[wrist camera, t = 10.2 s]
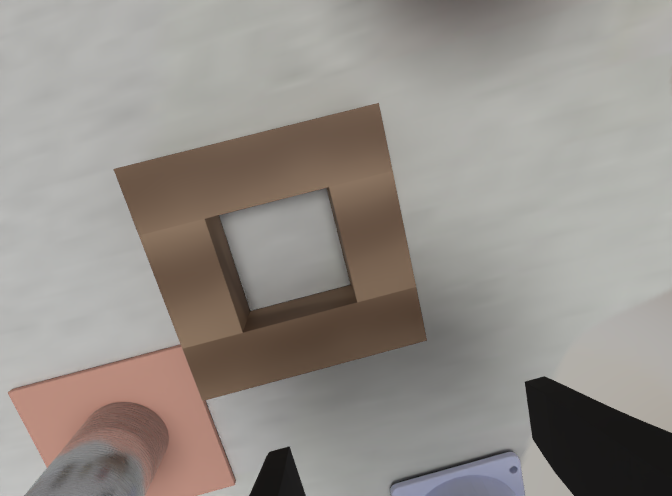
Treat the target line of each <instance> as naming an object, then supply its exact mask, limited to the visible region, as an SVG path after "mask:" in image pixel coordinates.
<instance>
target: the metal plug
mask: <svg viewBox="0 0 672 496" xmlns="http://www.w3.org/2000/svg"><path fill="white" fill-rule="evenodd" d="M168 443H169V435H168V430H167V427H166V425H165V423H164V422H163V420H162V419H161V418H160V417H159V416H158V415H157V414H156V413H155V412H154V411H152V410H151V409H149V408H147V407H145V406H143V405H140V404H136V403H131V402H116V403H111V404H108V405H105V406H103V407H101V408H99V409H97V410H96V411H95V412H94V413H92V414H91V416H90V417H89V418H88V419H87V420H86V422H85V423H84V424H83V425H82V426H81V428H80V429H79V430H78V431H77V432H76V434H75V435H74V436H73V437H72V438H71V440H70V441H69V442H68V443H67V445H66V446H65V447H64V448H63V449H62V451H61V452H60V453H59V454H58V455H57V457H56V458H55V459H54V460H53V461H52V463H51V464H50V465H49V466H48V468H47V469H46V470H45V471H44V472H43V474H42V475H41V476H40V477H39V478H38V480H37V481H36V482H35V483H34V484H33V486H32V487H31V488H30V489H29V491H28V492H27V493H26V494H25V495H24V496H145V495H146V493H147V491H148V489H149V486H150V484H151V482H152V480H153V478H154V476H155V474H156V472H157V469H158V467H159V465H160V463H161V461H162V459H163V457H164V454H165V452H166V450H167V447H168Z"/></svg>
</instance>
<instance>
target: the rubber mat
mask: <svg viewBox="0 0 672 496" xmlns="http://www.w3.org/2000/svg"><path fill="white" fill-rule="evenodd" d="M8 394H9V396H10V398H11V400H12V402H13V404H14V406H15V408H16V409H17V411H18V413H19V415H20V417H21V419H22V421H23V423H24V425H25V426H26V428H27V430H28V432H29V434H30V436H31V438H32V440H33V442H34V444H35V445H36V447H37V449H38V451H39V453H40V455H41V457H42V459H43V461H44V463H45V464H46V466H47V468H48V466H49V465H50V464H51V463H52V461H53V460H54V459H55V458H56V457H57V455H58V454H59V453H60V452H61V451H62V449H63V448H64V447H65V446H66V445H67V443H68V442H69V441H70V440H71V438H72V437H73V436H74V435H75V434H76V432H77V431H78V430H79V429H80V428H81V426H82V425H83V424H84V423H85V422H86V420H87V419H88V418H89V417H90V416H91V414H92V413H94V412H95V411H96V410H97V409H99V408H101V407H103V406H105V405H108V404H111V403H116V402H131V403H136V404H140V405H143V406H145V407H147V408H149V409H151V410H152V411H154V412H155V413H156V414H157V415H158V416H159V417H160V418H161V419H162V420H163V422H164V423H165V425H166V427H167V430H168V435H169V443H168V447H167V450H166V452H165V454H164V457H163V459H162V461H161V463H160V465H159V467H158V469H157V472H156V474H155V476H154V478H153V480H152V482H151V484H150V486H149V489H148V491H147V493H146V495H145V496H197V495H200V494H204V493H208V492H211V491H215V490H219V489H222V488H226V487H229V486H233V485H235V481H236V480H235V478H234V475H233V473H232V470H231V467H230V465H229V462H228V459H227V457H226V454H225V452H224V449H223V446H222V444H221V441H220V438H219V436H218V433H217V431H216V428H215V425H214V423H213V420H212V417H211V415H210V412H209V410H208V407H207V404H206V402H205V400H204V401H202V399H201V396H200V393H199V391H198V388H197V386H196V383H195V380H194V378H193V375H192V373H191V370H190V367H189V365H188V362H187V359H186V357H185V354H184V352H183V349H182V346H181V345H177V346H174V347H170V348H166V349H162V350H159V351H155V352H151V353H147V354H143V355H140V356H136V357H132V358H128V359H124V360H121V361H117V362H113V363H109V364H106V365H102V366H98V367H94V368H90V369H87V370H83V371H79V372H75V373H72V374H68V375H64V376H60V377H56V378H53V379H49V380H45V381H41V382H38V383H34V384H30V385H26V386H22V387H19V388H15V389H12V390H10V391H9V392H8Z"/></svg>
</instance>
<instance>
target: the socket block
mask: <svg viewBox="0 0 672 496" xmlns="http://www.w3.org/2000/svg"><path fill="white" fill-rule="evenodd" d="M114 172H115V174H116V177H117V179H118V182H119V185H120V187H121V190H122V192H123V195H124V198H125V200H126V203H127V205H128V208H129V211H130V213H131V216H132V218H133V221H134V224H135V226H136V229H137V232H138V234H139V237H140V239H141V242H142V245H143V247H144V250H145V252H146V255H147V258H148V260H149V263H150V265H151V268H152V271H153V273H154V276H155V279H156V281H157V284H158V286H159V289H160V292H161V294H162V297H163V299H164V302H165V305H166V307H167V310H168V312H169V315H170V318H171V320H172V323H173V326H174V328H175V331H176V333H177V336H178V339H179V341H180V344H181V346H182V349H183V352H184V354H185V357H186V359H187V362H188V365H189V367H190V370H191V373H192V375H193V378H194V380H195V383H196V386H197V388H198V391H199V393H200V396H201V399H202V401H204V400H208V399H211V398H215V397H219V396H223V395H226V394H230V393H234V392H237V391H241V390H245V389H249V388H252V387H256V386H260V385H263V384H267V383H271V382H275V381H278V380H282V379H286V378H289V377H293V376H297V375H301V374H304V373H308V372H312V371H315V370H319V369H323V368H327V367H330V366H334V365H338V364H341V363H345V362H349V361H353V360H356V359H360V358H364V357H367V356H371V355H375V354H379V353H382V352H386V351H390V350H393V349H397V348H401V347H405V346H408V345H412V344H416V343H419V342H423V341H427V338H426V333H425V328H424V323H423V318H422V313H421V309H420V304H419V299H418V294H417V289H416V284H415V279H414V274H413V269H412V264H411V259H410V254H409V250H408V245H407V240H406V235H405V230H404V225H403V220H402V215H401V210H400V205H399V200H398V195H397V190H396V186H395V181H394V176H393V171H392V166H391V161H390V156H389V151H388V146H387V141H386V136H385V131H384V126H383V122H382V117H381V112H380V107H379V103H377V104H373V105H369V106H365V107H361V108H357V109H353V110H349V111H345V112H341V113H337V114H333V115H329V116H324V117H320V118H316V119H312V120H308V121H304V122H300V123H296V124H292V125H288V126H284V127H280V128H276V129H272V130H268V131H264V132H260V133H256V134H252V135H248V136H244V137H240V138H236V139H232V140H228V141H224V142H220V143H216V144H212V145H208V146H204V147H200V148H196V149H192V150H188V151H184V152H180V153H176V154H172V155H168V156H164V157H160V158H156V159H152V160H148V161H144V162H140V163H136V164H132V165H128V166H124V167H120V168H116V169H114ZM323 188H327V192H328V196H329V200H330V204H331V208H332V212H333V216H334V220H335V224H336V228H337V232H338V236H339V240H340V244H341V248H342V252H343V256H344V260H345V264H346V268H347V272H348V277H349V281H350V285H348V286H345V287H341V288H337V289H333V290H329V291H326V292H322V293H318V294H314V295H310V296H307V297H303V298H299V299H295V300H291V301H288V302H284V303H280V304H276V305H272V306H269V307H265V308H261V309H257V310H253V311H250V310H249V307H248V304H247V301H246V297H245V294H244V291H243V288H242V285H241V282H240V279H239V276H238V273H237V270H236V267H235V264H234V260H233V257H232V254H231V251H230V248H229V245H228V242H227V239H226V236H225V233H224V230H223V227H222V224H221V220H220V217H219V215H221V214H225V213H229V212H233V211H237V210H241V209H245V208H249V207H253V206H257V205H261V204H265V203H268V202H272V201H276V200H280V199H284V198H288V197H292V196H296V195H300V194H304V193H308V192H312V191H316V190H319V189H323Z"/></svg>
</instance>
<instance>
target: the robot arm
mask: <svg viewBox="0 0 672 496" xmlns="http://www.w3.org/2000/svg"><path fill="white" fill-rule="evenodd" d="M525 387H526V394H527V402H528V409H529V416H530V424H531V431H532V438H533V440H534V442H535V443H536V445H537V446H538V448H539V449H540V451H541V452H542V454H543V455H544V457H545V458H546V460H547V461H548V463H549V464H550V466H551V467H552V469H553V470H554V471H555V473H556V474H557V475H558V477H559V478H560V479H561V480H562V482H563V483H564V484H565V485H566V486H567V488H568V489H569V490H570V491H571V492H572V494H573V495H574V496H672V433H670V432H668V431H666V430H663V429H661V428H658V427H656V426H653V425H651V424H648V423H646V422H643V421H641V420H639V419H636V418H634V417H632V416H629V415H627V414H625V413H622V412H620V411H618V410H616V409H614V408H611V407H609V406H607V405H605V404H603V403H601V402H598V401H596V400H594V399H592V398H590V397H587V396H585V395H583V394H581V393H579V392H577V391H575V390H573V389H571V388H569V387H567V386H564V385H562V384H560V383H558V382H556V381H554V380H552V379H549V378H547V377H545V376H544V377H540V378H537V379H533V380H530V381H526V382H525ZM511 467H512V468H511ZM390 493H391V496H525V491H524V485H523V478H522V471H521V464H520V459H519V457H518V456H517V455H516V454H515V453H514V452H506V453H503V454H499V455H496V456H492V457H489V458H485V459H481V460H478V461H474V462H471V463H467V464H464V465H460V466H456V467H453V468H449V469H446V470H442V471H439V472H435V473H432V474H428V475H424V476H421V477H417V478H414V479H410V480H407V481H403V482H399V483H396V484H394V485H393V486H392V487H391V489H390ZM249 496H306V495H305V492H304V489H303V486H302V483H301V480H300V477H299V474H298V471H297V468H296V465H295V462H294V459H293V456H292V453H291V450H290V447H286V448H282V449H278V450H275V451H271V452H269V453H268V455H267V456H266V459H265V461H264V463H263V466H262V468H261V470H260V473H259V475H258V477H257V480H256V482H255V484H254V486H253V488H252V491H251V493H250V495H249Z"/></svg>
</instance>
